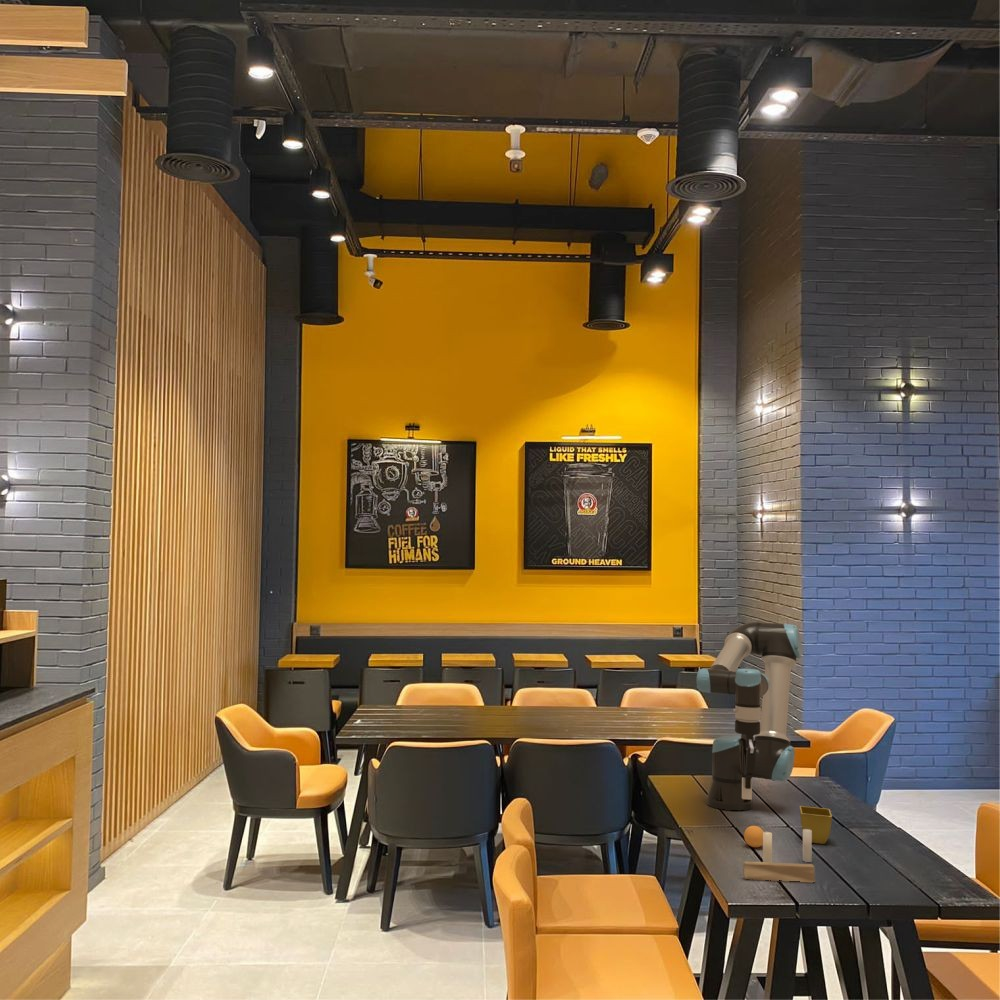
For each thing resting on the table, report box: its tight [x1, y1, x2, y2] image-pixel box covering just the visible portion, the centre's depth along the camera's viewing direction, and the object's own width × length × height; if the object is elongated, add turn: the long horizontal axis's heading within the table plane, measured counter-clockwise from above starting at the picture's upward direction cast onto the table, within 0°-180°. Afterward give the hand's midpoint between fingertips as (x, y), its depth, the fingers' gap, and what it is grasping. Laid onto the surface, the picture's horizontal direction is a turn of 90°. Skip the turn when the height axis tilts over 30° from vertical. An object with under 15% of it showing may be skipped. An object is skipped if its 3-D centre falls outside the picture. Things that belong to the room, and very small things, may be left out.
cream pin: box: [762, 831, 773, 863], centre depth 249 cm, size 2×2×8 cm
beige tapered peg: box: [802, 829, 813, 863], centre depth 252 cm, size 2×2×8 cm
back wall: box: [742, 861, 816, 883], centre depth 237 cm, size 2×18×4 cm, turn 87°
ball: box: [743, 825, 765, 848], centre depth 264 cm, size 6×6×6 cm
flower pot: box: [799, 805, 833, 845], centre depth 271 cm, size 9×9×9 cm
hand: (746, 798), depth 274 cm, fingers closed
